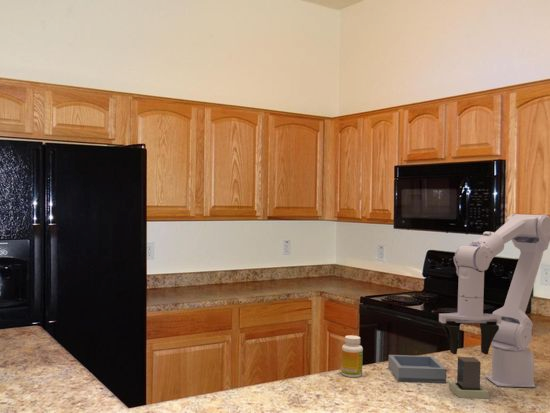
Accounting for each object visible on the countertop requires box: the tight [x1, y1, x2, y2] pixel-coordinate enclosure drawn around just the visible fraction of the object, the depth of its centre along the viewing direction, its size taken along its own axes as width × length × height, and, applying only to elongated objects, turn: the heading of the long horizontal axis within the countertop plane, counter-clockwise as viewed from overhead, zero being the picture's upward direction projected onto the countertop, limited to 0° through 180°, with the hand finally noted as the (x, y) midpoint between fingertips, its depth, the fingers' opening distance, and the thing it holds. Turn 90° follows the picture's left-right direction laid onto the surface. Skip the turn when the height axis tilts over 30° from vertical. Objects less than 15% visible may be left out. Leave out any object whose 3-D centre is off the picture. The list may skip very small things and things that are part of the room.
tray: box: [387, 354, 447, 384], centre depth 144 cm, size 12×12×4 cm
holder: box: [448, 380, 490, 399], centre depth 131 cm, size 7×7×2 cm
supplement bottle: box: [340, 334, 364, 378], centre depth 143 cm, size 5×5×10 cm
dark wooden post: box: [456, 356, 481, 390], centre depth 131 cm, size 4×4×8 cm
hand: (469, 353), depth 131 cm, fingers open, 7 cm apart
